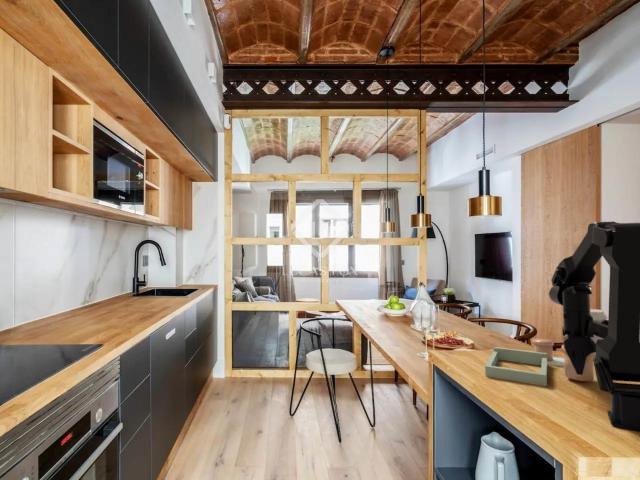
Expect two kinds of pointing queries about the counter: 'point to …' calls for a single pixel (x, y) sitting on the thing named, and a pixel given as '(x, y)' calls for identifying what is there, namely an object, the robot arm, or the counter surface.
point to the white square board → (557, 361)
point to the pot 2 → (570, 371)
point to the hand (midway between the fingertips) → (578, 370)
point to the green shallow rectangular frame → (515, 374)
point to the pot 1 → (544, 347)
